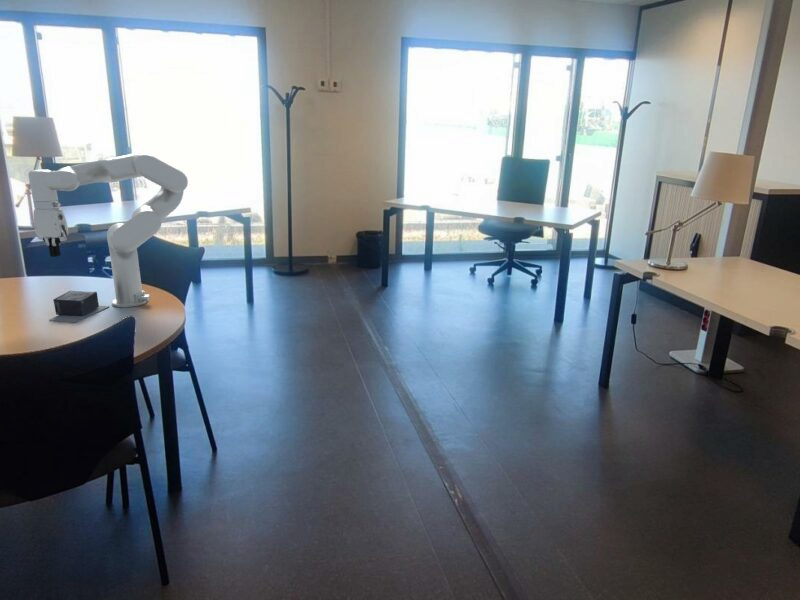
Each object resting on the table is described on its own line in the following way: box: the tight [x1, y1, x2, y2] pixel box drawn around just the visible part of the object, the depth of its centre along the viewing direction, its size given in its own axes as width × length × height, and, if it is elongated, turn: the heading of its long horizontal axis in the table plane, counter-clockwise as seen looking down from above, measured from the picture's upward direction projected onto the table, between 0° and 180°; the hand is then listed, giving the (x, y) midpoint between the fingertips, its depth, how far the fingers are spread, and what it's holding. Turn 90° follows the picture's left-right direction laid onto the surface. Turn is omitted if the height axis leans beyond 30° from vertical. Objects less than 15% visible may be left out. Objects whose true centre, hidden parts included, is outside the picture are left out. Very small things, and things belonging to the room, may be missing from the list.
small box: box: [53, 290, 100, 316], centre depth 204 cm, size 11×6×10 cm
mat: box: [48, 305, 110, 324], centre depth 203 cm, size 10×18×1 cm, turn 169°
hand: (55, 255), depth 199 cm, fingers closed
